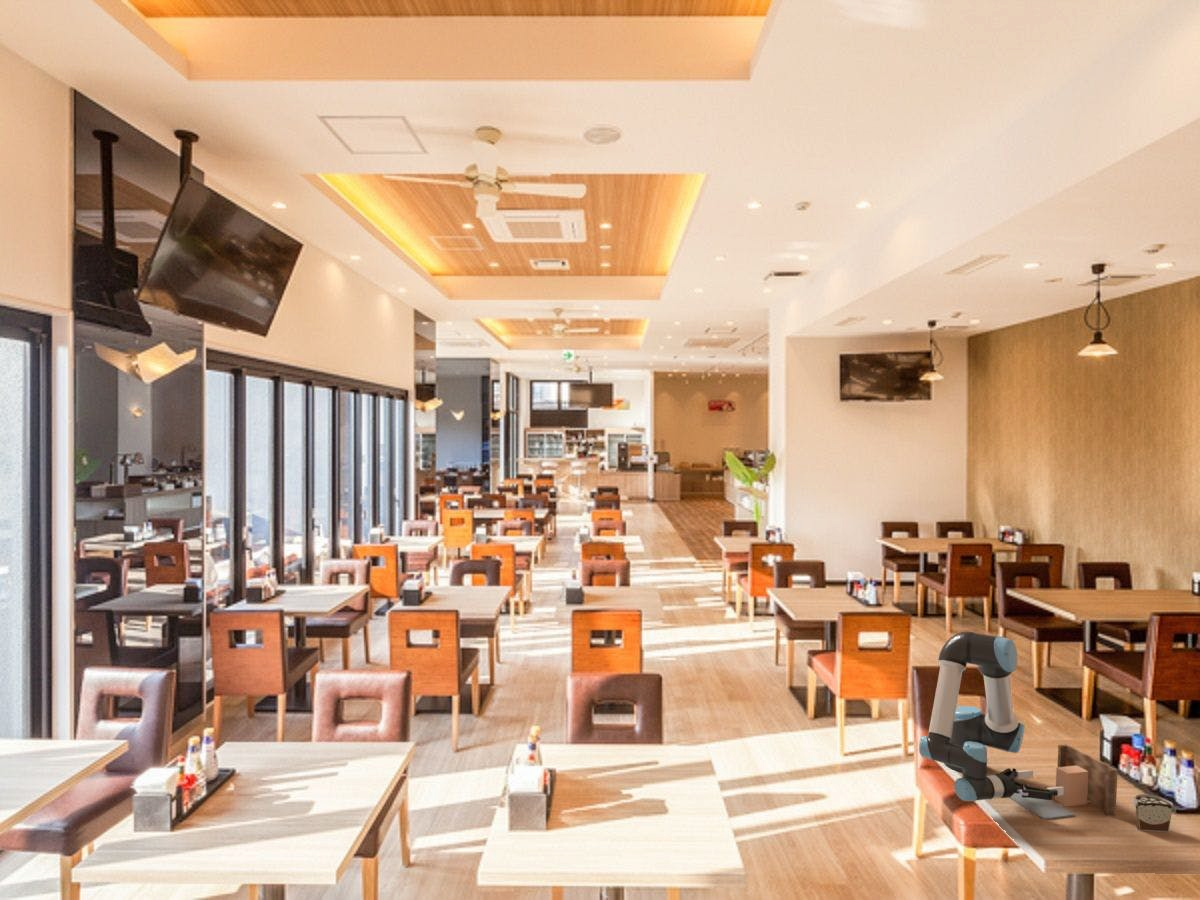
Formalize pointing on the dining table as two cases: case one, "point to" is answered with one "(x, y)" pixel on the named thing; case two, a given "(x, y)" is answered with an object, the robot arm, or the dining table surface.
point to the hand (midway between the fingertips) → (1047, 782)
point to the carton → (1072, 785)
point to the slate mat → (1042, 807)
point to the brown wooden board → (1093, 777)
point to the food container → (1153, 813)
